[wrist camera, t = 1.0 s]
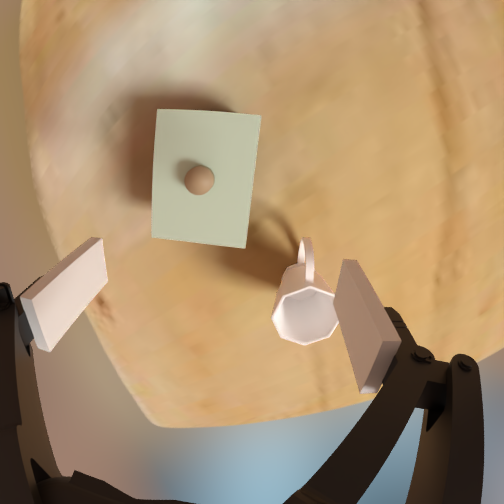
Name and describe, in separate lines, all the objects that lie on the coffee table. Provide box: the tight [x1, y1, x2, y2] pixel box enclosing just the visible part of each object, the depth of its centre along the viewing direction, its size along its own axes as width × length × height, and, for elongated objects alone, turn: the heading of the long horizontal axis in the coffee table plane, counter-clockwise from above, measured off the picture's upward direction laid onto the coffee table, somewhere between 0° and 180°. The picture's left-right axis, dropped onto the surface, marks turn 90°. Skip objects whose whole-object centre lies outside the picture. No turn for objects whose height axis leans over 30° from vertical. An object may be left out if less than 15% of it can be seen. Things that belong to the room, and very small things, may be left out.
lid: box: [152, 109, 261, 249], centre depth 26 cm, size 12×9×3 cm
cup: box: [271, 237, 339, 345], centre depth 32 cm, size 7×10×8 cm
